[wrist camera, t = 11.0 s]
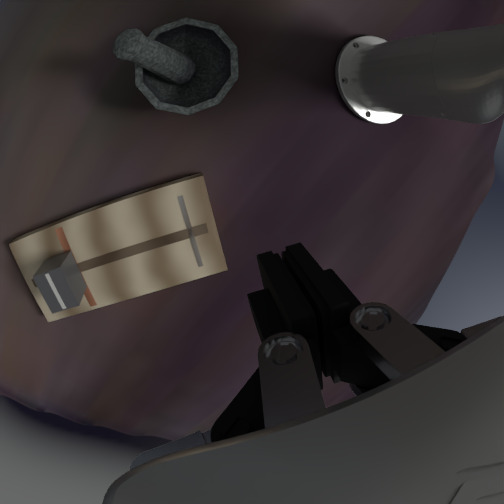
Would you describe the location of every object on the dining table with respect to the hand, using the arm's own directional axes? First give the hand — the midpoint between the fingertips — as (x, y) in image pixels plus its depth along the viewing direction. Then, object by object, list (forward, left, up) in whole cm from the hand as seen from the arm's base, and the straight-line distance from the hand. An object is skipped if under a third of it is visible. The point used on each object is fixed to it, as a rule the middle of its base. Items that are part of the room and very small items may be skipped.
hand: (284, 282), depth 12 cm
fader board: (+14, +6, -26) cm, 30 cm away
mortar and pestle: (+1, -12, -27) cm, 29 cm away
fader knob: (+20, +6, -24) cm, 32 cm away
